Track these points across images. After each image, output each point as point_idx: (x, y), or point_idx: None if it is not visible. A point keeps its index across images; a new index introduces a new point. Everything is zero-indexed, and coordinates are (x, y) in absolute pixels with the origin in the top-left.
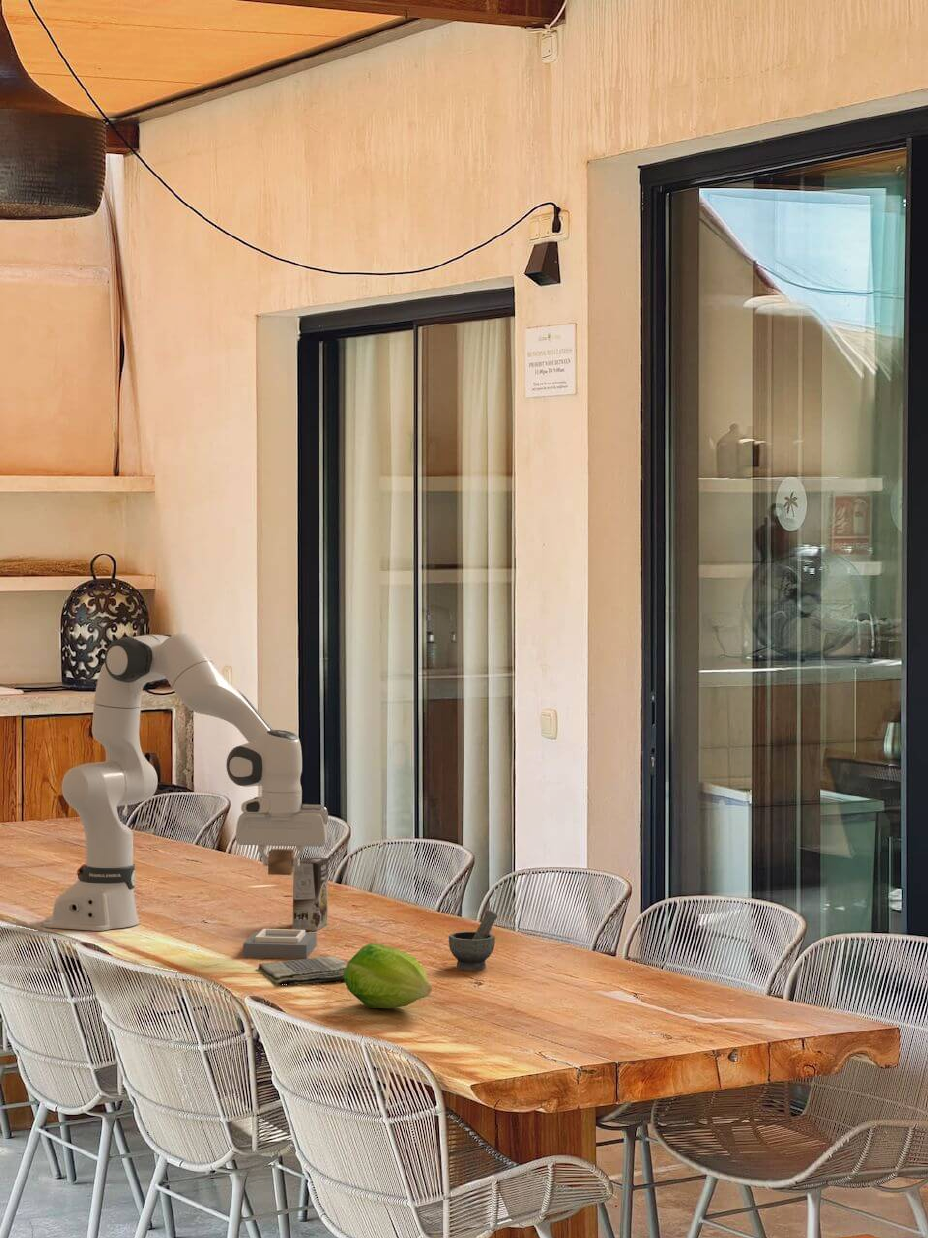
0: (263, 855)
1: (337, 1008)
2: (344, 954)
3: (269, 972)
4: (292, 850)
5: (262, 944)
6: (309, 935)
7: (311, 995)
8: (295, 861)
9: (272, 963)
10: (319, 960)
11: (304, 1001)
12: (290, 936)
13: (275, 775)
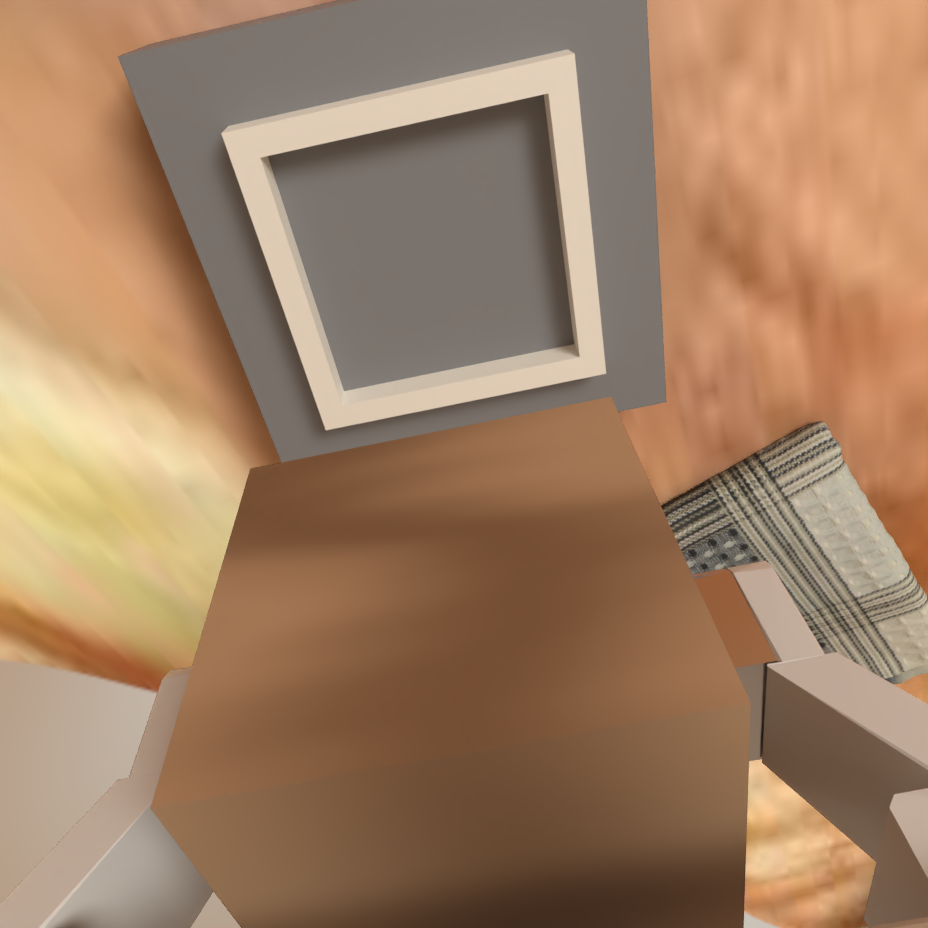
0: (186, 907)
1: (868, 877)
2: (853, 164)
3: None
4: (735, 838)
5: None
6: (612, 85)
7: (778, 814)
8: None
9: None
10: (767, 558)
11: (767, 858)
12: (482, 178)
13: None
